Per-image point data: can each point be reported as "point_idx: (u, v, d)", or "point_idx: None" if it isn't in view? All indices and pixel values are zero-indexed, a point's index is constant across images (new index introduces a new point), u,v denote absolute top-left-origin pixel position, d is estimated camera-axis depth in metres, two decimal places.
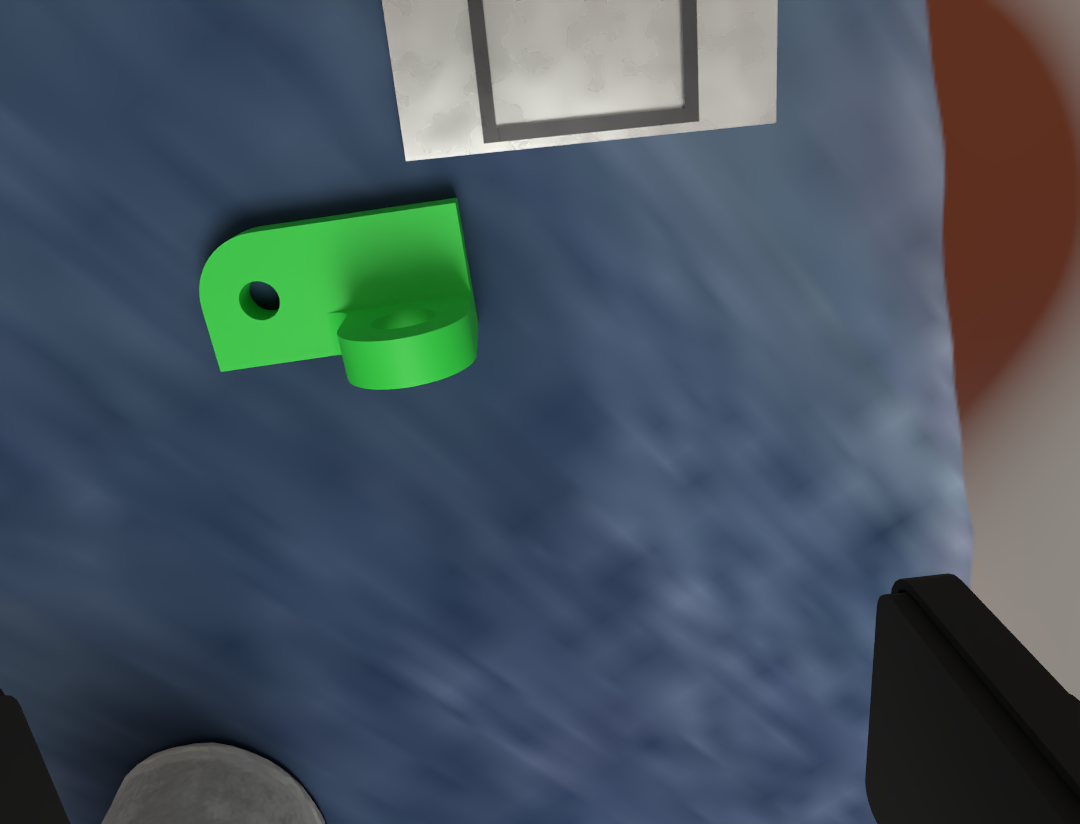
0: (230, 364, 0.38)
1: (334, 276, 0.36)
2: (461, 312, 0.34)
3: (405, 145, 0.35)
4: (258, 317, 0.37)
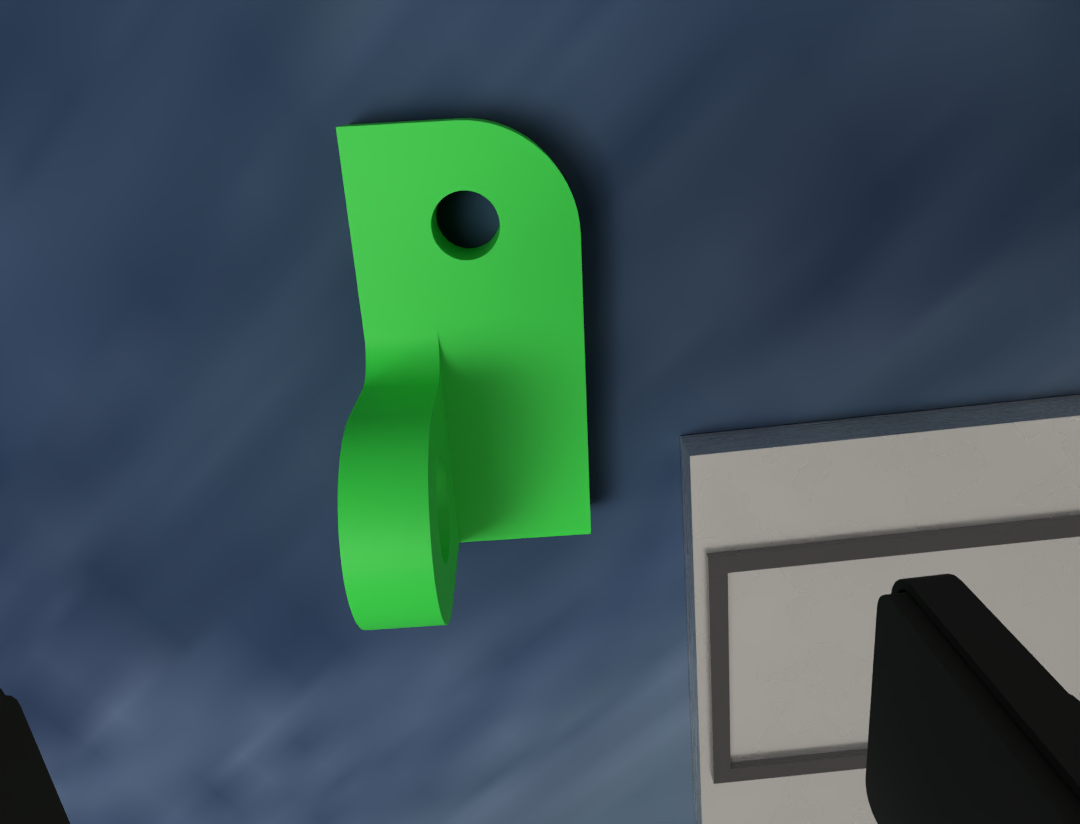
0: (350, 148, 0.21)
1: (497, 354, 0.23)
2: (451, 598, 0.22)
3: (711, 456, 0.24)
4: (434, 210, 0.22)
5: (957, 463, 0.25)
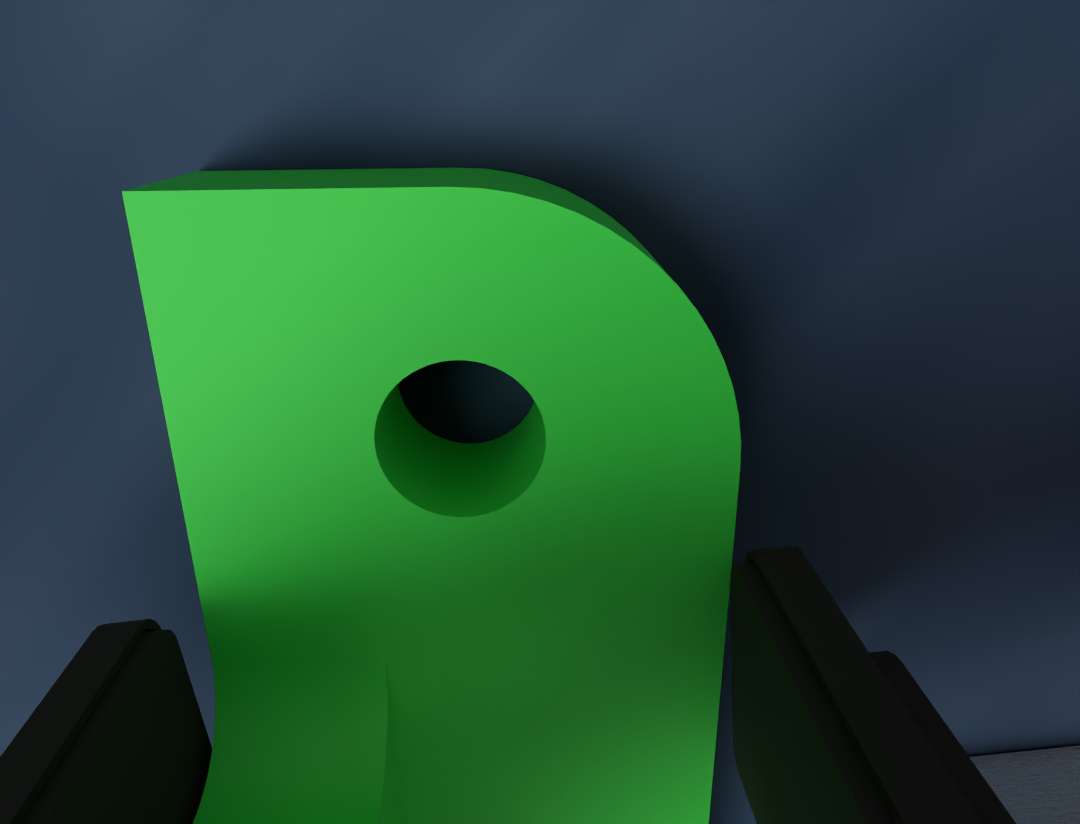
0: (162, 248, 0.08)
1: (522, 707, 0.10)
2: None
3: None
4: (384, 395, 0.09)
5: None
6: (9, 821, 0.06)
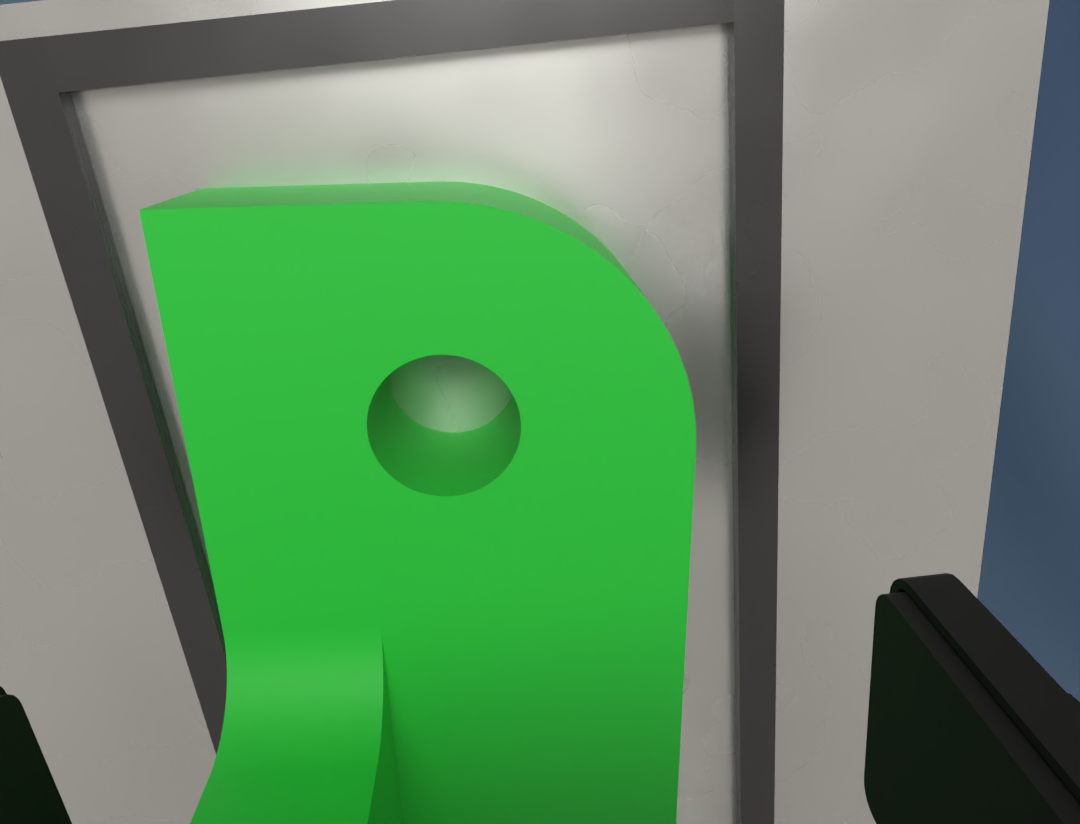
0: (175, 259, 0.09)
1: (506, 670, 0.11)
2: None
3: None
4: (376, 387, 0.10)
5: (914, 507, 0.13)
6: None
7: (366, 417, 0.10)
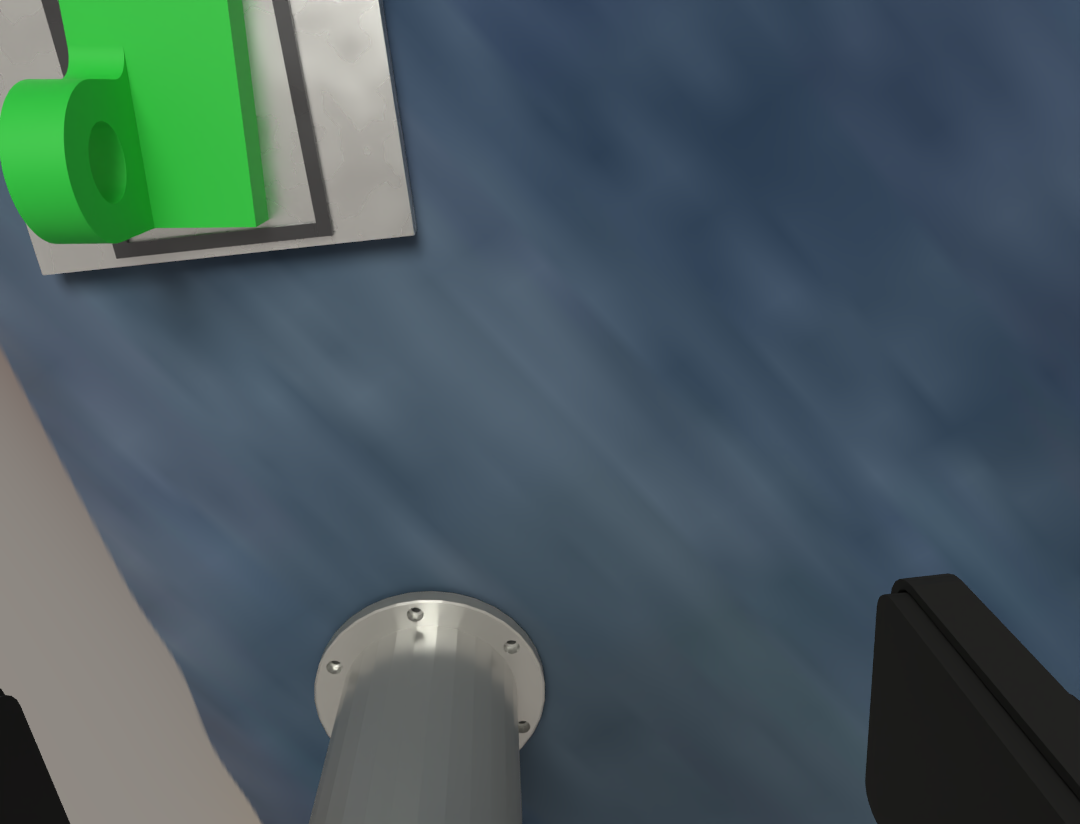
0: None
1: (170, 69, 0.31)
2: (117, 234, 0.29)
3: None
4: None
5: (353, 37, 0.32)
6: None
7: None
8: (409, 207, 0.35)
